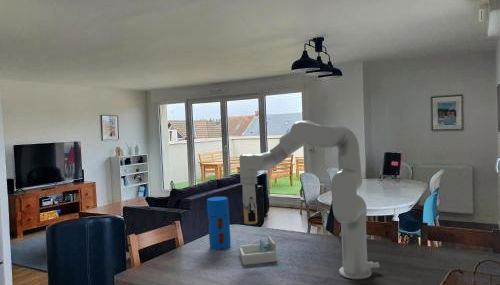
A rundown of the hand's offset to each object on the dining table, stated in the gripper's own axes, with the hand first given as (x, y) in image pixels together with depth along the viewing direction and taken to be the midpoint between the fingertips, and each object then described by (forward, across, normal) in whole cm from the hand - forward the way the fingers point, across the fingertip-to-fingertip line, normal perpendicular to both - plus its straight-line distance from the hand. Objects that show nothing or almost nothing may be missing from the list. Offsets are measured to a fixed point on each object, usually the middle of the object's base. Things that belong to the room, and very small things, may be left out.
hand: (250, 219), depth 178 cm
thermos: (+19, -22, -13) cm, 32 cm away
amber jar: (+1, 0, 0) cm, 1 cm away
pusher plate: (+17, 0, +5) cm, 18 cm away
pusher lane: (+18, 0, +2) cm, 18 cm away
